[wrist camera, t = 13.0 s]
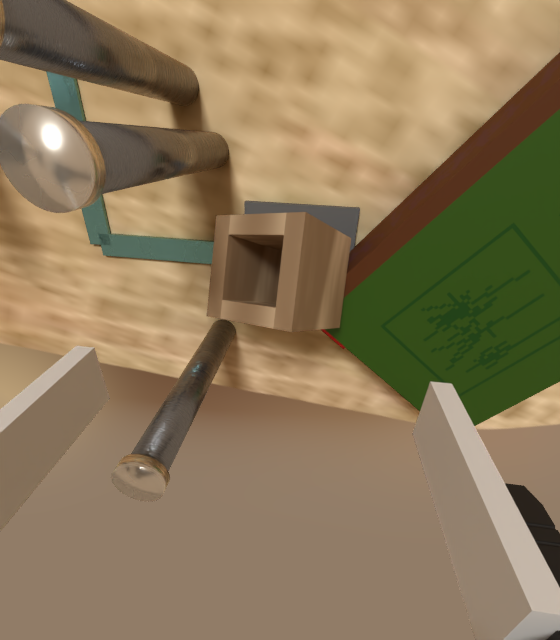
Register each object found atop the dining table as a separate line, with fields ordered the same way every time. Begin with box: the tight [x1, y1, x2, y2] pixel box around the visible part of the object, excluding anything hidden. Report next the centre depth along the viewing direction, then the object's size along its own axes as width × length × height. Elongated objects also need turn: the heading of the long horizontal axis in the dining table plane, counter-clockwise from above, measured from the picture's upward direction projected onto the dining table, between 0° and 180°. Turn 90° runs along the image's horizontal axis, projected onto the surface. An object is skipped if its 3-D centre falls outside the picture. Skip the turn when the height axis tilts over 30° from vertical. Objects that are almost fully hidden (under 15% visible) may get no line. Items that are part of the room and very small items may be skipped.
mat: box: [245, 201, 360, 251], centre depth 27 cm, size 9×9×1 cm
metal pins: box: [0, 0, 235, 501], centre depth 20 cm, size 24×28×17 cm
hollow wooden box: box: [207, 212, 351, 332], centre depth 22 cm, size 6×6×7 cm
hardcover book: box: [321, 53, 560, 426], centre depth 24 cm, size 25×19×4 cm
